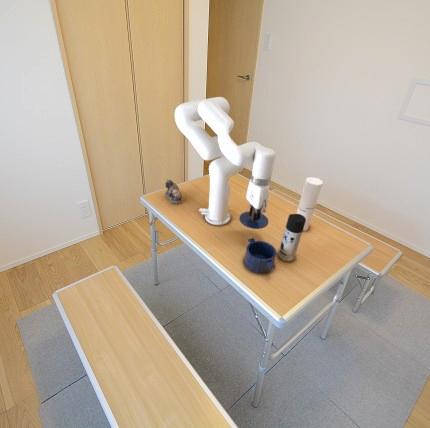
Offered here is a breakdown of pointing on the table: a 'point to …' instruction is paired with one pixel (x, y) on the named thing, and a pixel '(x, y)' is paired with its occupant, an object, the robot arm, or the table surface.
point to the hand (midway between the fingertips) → (254, 217)
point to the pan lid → (251, 223)
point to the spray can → (291, 236)
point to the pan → (260, 256)
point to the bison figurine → (173, 192)
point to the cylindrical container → (309, 199)
